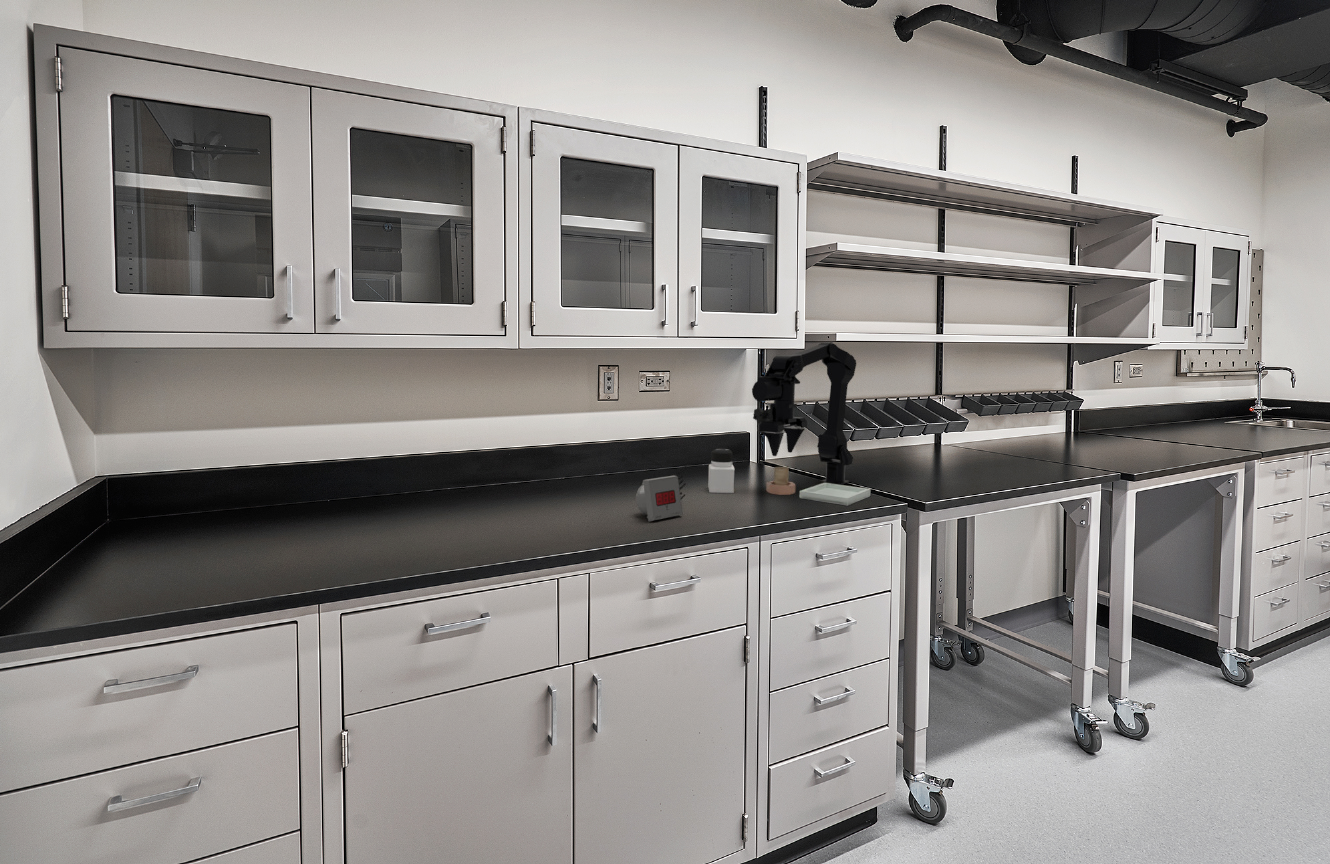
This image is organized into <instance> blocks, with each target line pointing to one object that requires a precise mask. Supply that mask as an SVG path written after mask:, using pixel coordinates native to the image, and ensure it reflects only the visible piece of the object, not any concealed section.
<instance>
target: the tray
mask: <svg viewBox="0 0 1330 864" xmlns="http://www.w3.org/2000/svg"><path fill="white" fill-rule="evenodd" d="M870 496H871V488H866V487H860V486H859V487H857V486H851V485H844V484H842V485H837V484H830V483H823V482H821V483H819V484H816V485H813V486H810V487H808V488H805V489H802V490H801V489H800V490H799V499H801V500H802V499H804V500H809V501H817V502H822V503H828V504H835V505H841V506H846V507H847V506H850V505H853V504H854V503H857V502H859V501H862V500H864V499H867V498H869V497H870Z"/></svg>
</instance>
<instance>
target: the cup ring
mask: <svg viewBox="0 0 1330 864" xmlns="http://www.w3.org/2000/svg"><path fill="white" fill-rule="evenodd" d="M765 488H766V489H765V490H766V492H767V493H769V494H773V495H777V496H778V495H780V496H783V495H784V496H785V495H787V496H789V495H790V496H791V495H793V494H796V483H794V482H793V481H788V485H774V480H770V481H767V482H766V487H765Z"/></svg>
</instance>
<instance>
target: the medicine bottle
mask: <svg viewBox="0 0 1330 864" xmlns="http://www.w3.org/2000/svg"><path fill="white" fill-rule="evenodd" d="M733 453H734V452H733V451H732V450H730V449H726V448H716V449H713V450H712V451H711V460H710V461H711V462H710V464H708V488H707V489H708V492H709V493H711V494H712V493H713V494H714V493H715V494H734V493H735V485H736V482H735V479H736V477H735V476H736V470H735V469H736V468H735V466H734V465H733Z"/></svg>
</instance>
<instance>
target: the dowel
mask: <svg viewBox="0 0 1330 864" xmlns="http://www.w3.org/2000/svg"><path fill="white" fill-rule="evenodd" d="M789 470H790V469H789V467H786V466H775V467H774V472H773V476H774V477H773V481H774V485H788V482H789Z"/></svg>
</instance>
